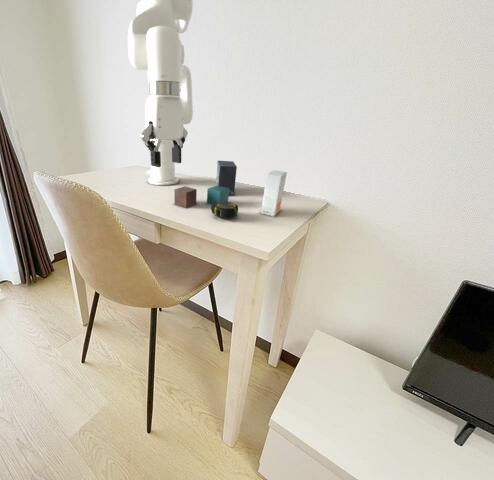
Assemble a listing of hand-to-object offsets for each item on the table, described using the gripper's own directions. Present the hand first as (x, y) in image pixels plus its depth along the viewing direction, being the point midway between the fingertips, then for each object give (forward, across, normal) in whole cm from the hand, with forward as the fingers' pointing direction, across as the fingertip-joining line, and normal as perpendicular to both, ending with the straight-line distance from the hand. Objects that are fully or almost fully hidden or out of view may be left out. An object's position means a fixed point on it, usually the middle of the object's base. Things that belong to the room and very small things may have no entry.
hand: (166, 164), depth 72 cm
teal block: (+14, -16, +7) cm, 22 cm away
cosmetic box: (+14, -20, +24) cm, 34 cm away
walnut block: (+14, -8, 0) cm, 16 cm away
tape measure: (+14, -8, +15) cm, 22 cm away
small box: (+14, -29, +1) cm, 32 cm away
